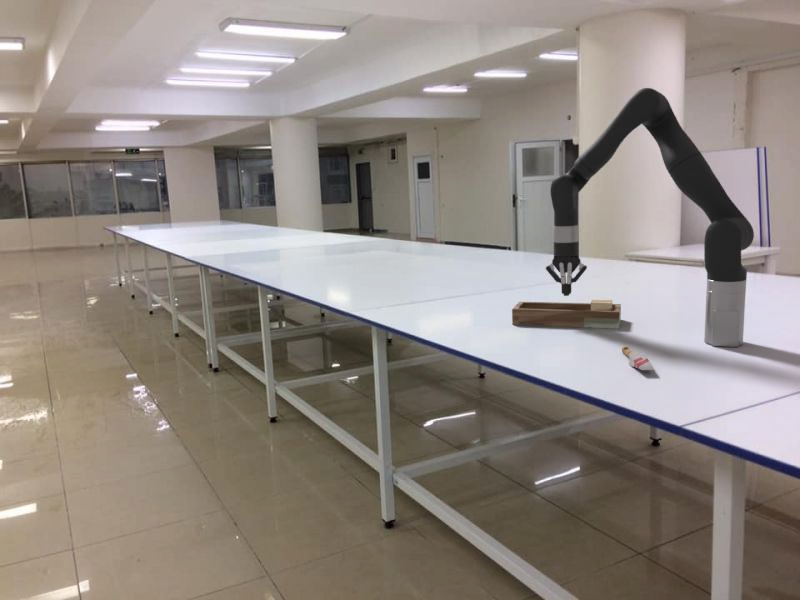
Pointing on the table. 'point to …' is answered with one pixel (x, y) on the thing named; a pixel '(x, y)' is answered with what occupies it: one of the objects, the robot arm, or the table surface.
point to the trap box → (565, 315)
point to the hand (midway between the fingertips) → (566, 295)
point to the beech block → (601, 305)
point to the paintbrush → (637, 359)
